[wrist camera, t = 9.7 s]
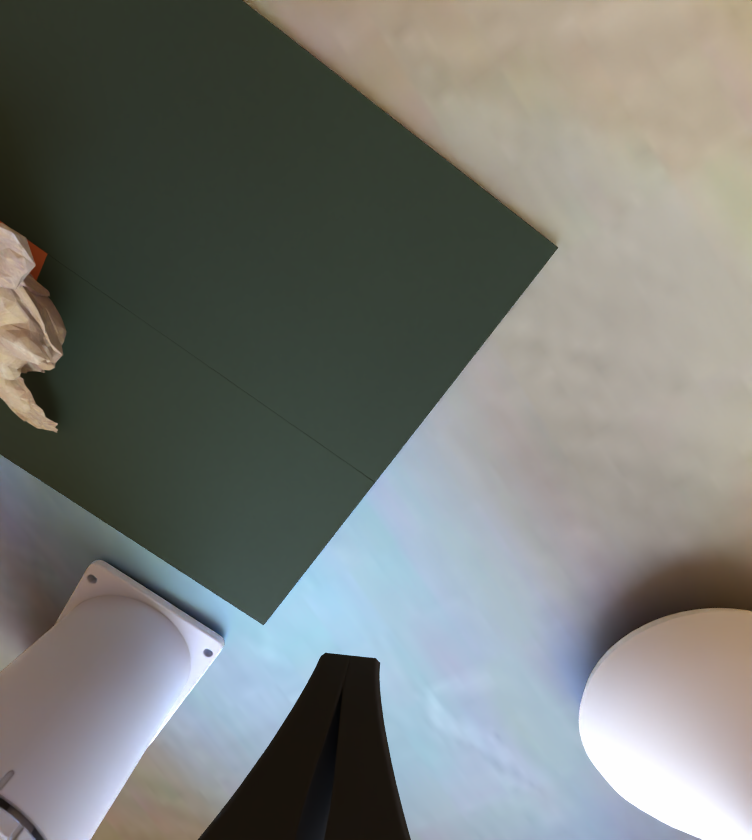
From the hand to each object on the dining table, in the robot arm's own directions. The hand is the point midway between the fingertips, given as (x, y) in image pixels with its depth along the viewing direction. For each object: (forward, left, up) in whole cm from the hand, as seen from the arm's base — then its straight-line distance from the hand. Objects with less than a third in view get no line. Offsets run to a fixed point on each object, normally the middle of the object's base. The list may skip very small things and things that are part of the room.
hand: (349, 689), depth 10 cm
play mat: (+2, +15, -9) cm, 18 cm away
